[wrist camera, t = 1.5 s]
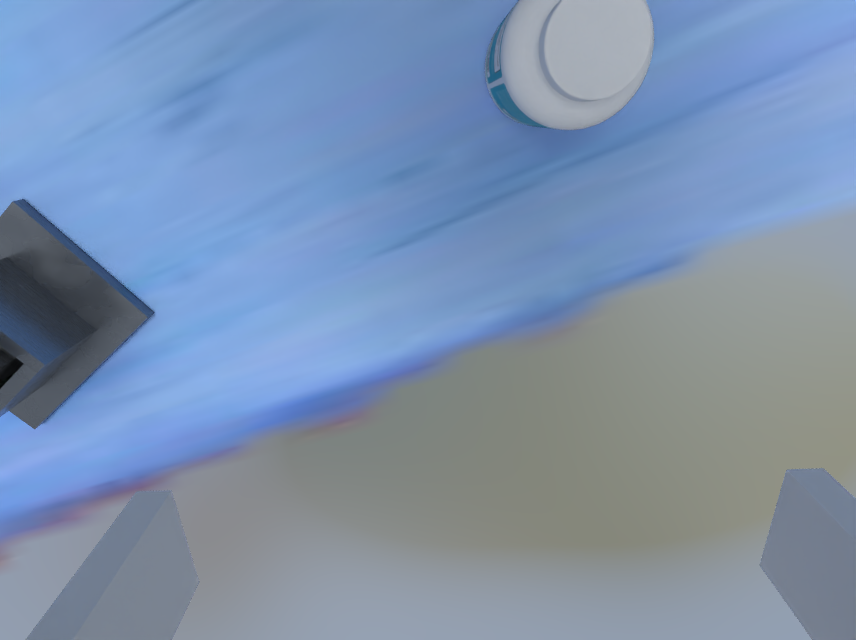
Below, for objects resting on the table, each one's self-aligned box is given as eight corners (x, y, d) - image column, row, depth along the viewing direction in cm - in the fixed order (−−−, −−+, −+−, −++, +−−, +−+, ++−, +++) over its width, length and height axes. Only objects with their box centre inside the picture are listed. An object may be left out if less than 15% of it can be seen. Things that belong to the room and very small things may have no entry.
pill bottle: (606, 99, 35) (701, 95, 23) (504, 142, 37) (542, 161, 24) (575, -19, 33) (664, -96, 20) (467, 32, 34) (488, -12, 21)
